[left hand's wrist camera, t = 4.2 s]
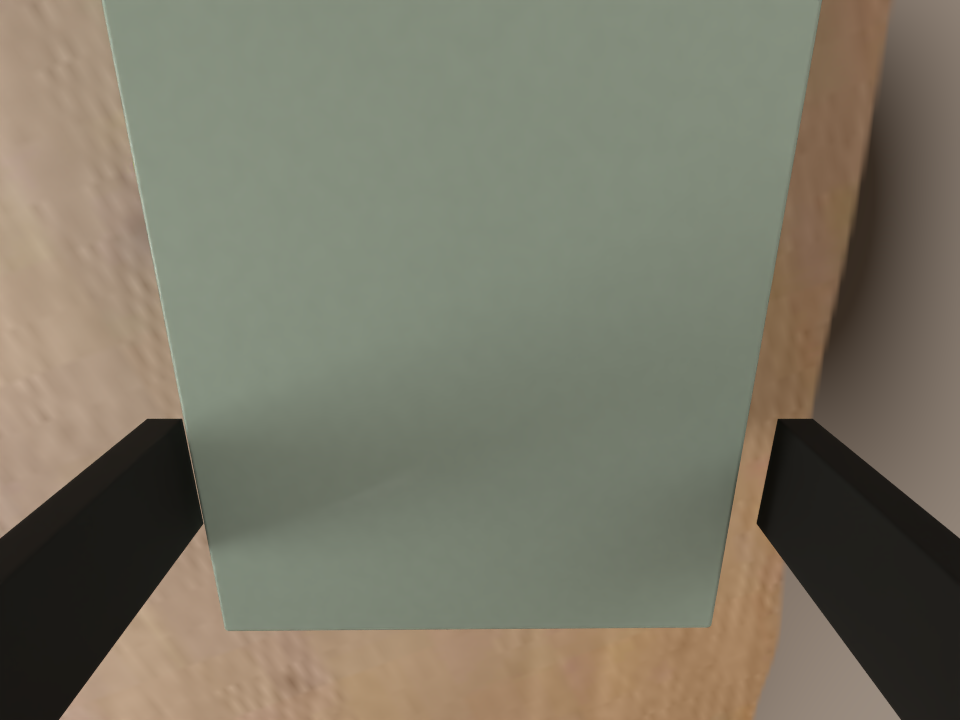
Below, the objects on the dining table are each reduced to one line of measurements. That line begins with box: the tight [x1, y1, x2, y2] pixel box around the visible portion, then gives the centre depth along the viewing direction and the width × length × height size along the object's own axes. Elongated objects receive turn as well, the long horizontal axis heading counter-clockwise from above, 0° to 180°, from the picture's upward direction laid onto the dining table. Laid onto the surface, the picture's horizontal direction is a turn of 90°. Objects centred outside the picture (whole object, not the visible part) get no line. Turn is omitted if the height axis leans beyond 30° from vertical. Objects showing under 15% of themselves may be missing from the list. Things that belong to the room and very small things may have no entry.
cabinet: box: [102, 0, 822, 631], centre depth 14 cm, size 19×11×8 cm, turn 0°
